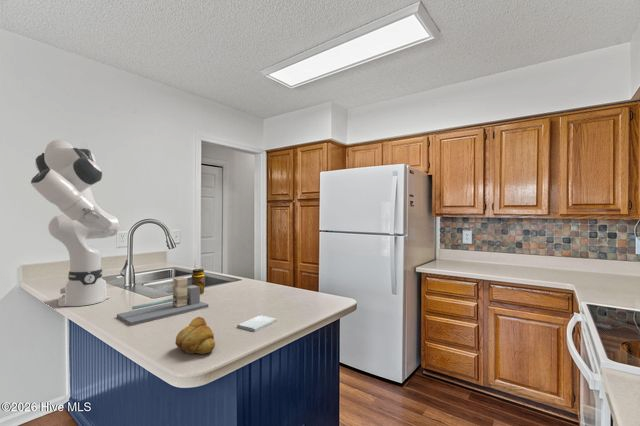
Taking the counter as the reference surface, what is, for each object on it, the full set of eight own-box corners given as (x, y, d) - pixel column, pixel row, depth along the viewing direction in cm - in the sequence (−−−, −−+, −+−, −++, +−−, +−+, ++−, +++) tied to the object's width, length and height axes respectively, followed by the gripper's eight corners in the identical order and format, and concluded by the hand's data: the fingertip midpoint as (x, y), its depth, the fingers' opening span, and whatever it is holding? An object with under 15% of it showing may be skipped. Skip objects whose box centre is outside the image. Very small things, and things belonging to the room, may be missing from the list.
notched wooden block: (172, 304, 131) (172, 278, 131) (182, 302, 135) (182, 276, 135) (177, 307, 129) (177, 279, 129) (187, 304, 132) (187, 278, 132)
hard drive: (254, 328, 107) (276, 318, 118) (236, 324, 111) (259, 314, 121) (254, 333, 107) (276, 322, 118) (236, 329, 111) (259, 318, 121)
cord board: (116, 317, 120) (117, 295, 120) (191, 301, 143) (192, 282, 143) (130, 325, 111) (131, 302, 111) (208, 307, 134) (208, 287, 134)
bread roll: (222, 351, 92) (222, 323, 92) (189, 362, 85) (189, 332, 85) (201, 339, 100) (202, 313, 100) (170, 348, 93) (170, 321, 93)
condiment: (206, 294, 155) (206, 269, 155) (188, 296, 151) (188, 271, 151) (203, 291, 162) (203, 267, 162) (185, 293, 157) (185, 269, 157)
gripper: (96, 202, 108) (127, 229, 116) (80, 203, 122) (109, 227, 129) (80, 215, 105) (113, 242, 112) (65, 214, 118) (96, 239, 126)
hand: (111, 234), depth 121 cm, fingers closed
